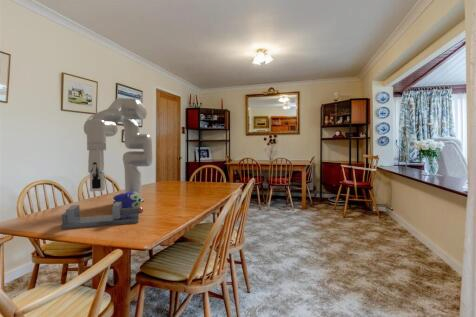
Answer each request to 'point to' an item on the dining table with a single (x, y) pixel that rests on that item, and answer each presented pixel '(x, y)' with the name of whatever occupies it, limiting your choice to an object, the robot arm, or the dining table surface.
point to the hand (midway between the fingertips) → (97, 187)
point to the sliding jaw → (124, 210)
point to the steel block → (102, 182)
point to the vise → (93, 219)
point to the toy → (128, 199)
